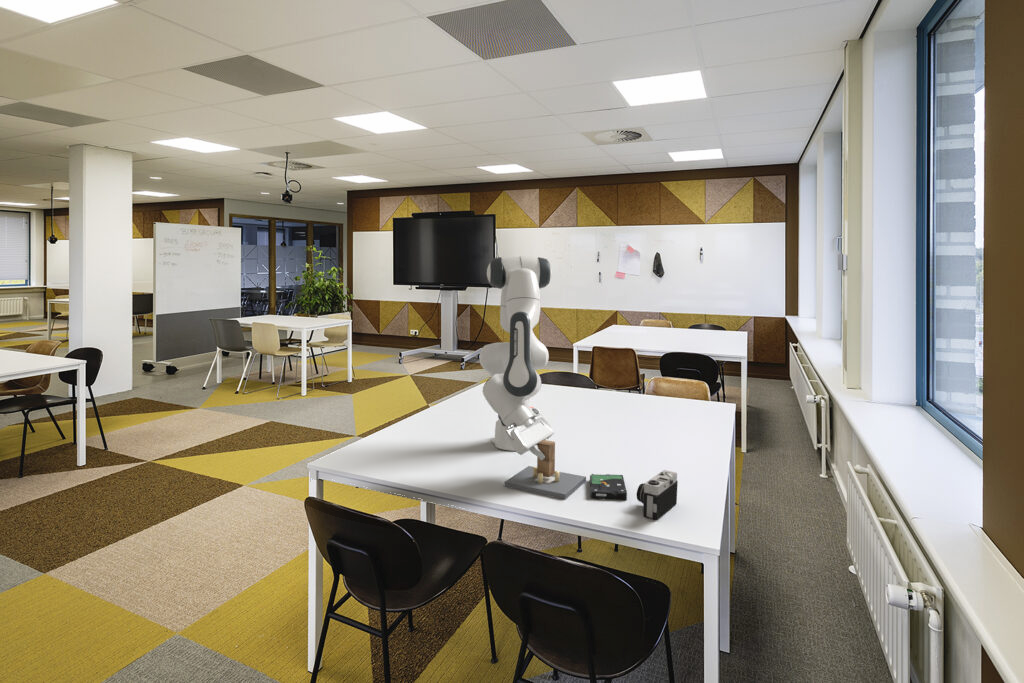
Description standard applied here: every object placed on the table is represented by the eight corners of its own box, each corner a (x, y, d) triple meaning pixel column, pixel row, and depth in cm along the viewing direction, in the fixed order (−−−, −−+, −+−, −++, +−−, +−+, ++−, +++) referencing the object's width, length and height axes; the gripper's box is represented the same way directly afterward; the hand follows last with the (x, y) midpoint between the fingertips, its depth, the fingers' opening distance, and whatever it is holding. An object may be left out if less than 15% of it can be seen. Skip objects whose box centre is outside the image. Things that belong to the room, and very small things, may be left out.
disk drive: (627, 502, 159) (622, 482, 174) (627, 493, 159) (622, 474, 173) (590, 501, 160) (589, 481, 175) (591, 491, 160) (589, 472, 174)
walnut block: (542, 471, 173) (543, 439, 172) (554, 473, 172) (555, 441, 170) (537, 475, 170) (537, 443, 169) (549, 477, 168) (549, 445, 167)
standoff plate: (528, 470, 183) (528, 457, 182) (586, 481, 173) (586, 467, 173) (504, 486, 169) (504, 472, 168) (565, 499, 159) (565, 484, 159)
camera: (653, 496, 161) (655, 463, 160) (682, 507, 155) (684, 473, 153) (625, 510, 152) (628, 476, 150) (655, 523, 145) (658, 486, 144)
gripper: (509, 422, 163) (539, 459, 159) (540, 407, 181) (567, 441, 177) (496, 434, 166) (525, 472, 162) (528, 419, 183) (554, 452, 180)
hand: (548, 456), depth 170 cm, fingers closed on walnut block, 4 cm apart
